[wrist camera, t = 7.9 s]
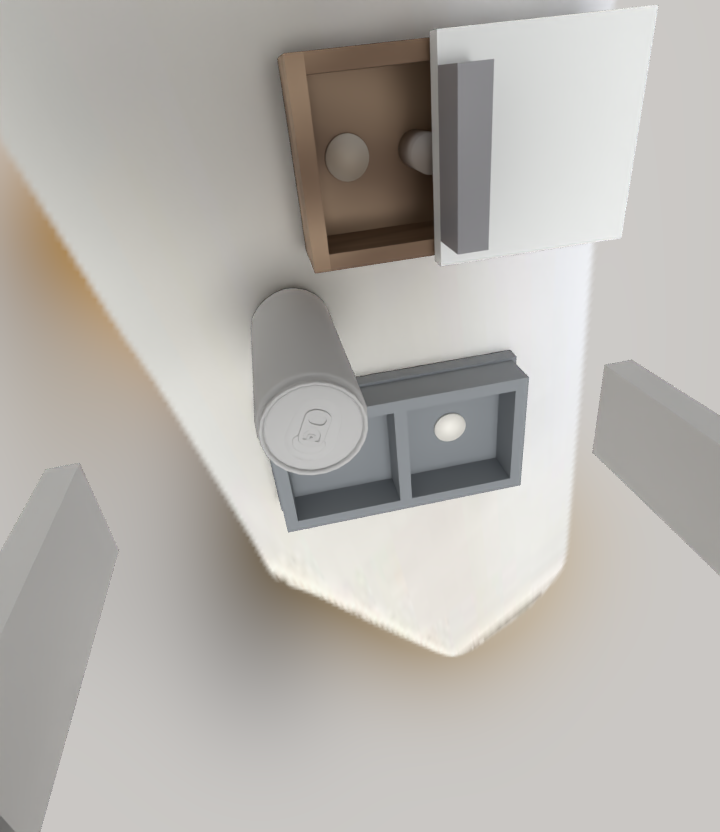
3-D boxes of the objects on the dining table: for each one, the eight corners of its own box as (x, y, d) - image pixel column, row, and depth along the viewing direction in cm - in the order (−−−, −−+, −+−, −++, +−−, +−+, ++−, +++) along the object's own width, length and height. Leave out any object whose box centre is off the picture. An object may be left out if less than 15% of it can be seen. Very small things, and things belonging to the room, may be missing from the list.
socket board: (256, 394, 34) (257, 423, 31) (510, 350, 36) (533, 373, 33) (281, 501, 39) (284, 535, 36) (504, 457, 41) (524, 486, 38)
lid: (429, 30, 22) (457, 22, 19) (643, 7, 23) (700, -4, 20) (434, 260, 27) (457, 281, 24) (610, 233, 28) (651, 250, 25)
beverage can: (242, 350, 33) (242, 468, 23) (262, 274, 31) (272, 367, 20) (318, 368, 34) (350, 485, 24) (342, 297, 32) (388, 393, 22)
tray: (277, 58, 25) (283, 53, 22) (460, 38, 26) (496, 29, 23) (306, 250, 30) (315, 273, 26) (460, 227, 31) (489, 246, 27)
